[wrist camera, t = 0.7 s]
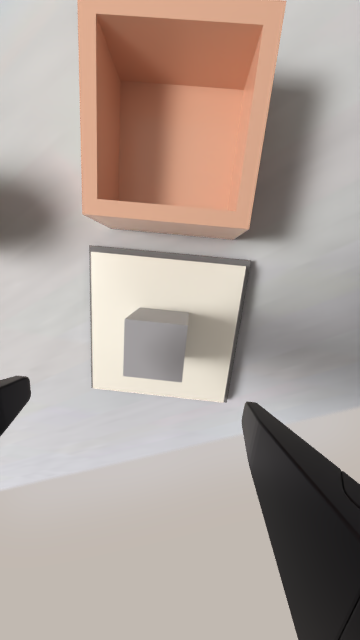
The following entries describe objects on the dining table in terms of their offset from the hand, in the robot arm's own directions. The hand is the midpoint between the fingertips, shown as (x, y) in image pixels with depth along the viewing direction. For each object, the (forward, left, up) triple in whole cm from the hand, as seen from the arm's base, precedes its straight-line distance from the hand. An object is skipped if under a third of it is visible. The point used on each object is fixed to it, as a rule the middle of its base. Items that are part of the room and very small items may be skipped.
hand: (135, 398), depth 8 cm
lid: (0, 0, -10) cm, 10 cm away
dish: (0, -13, -10) cm, 17 cm away
